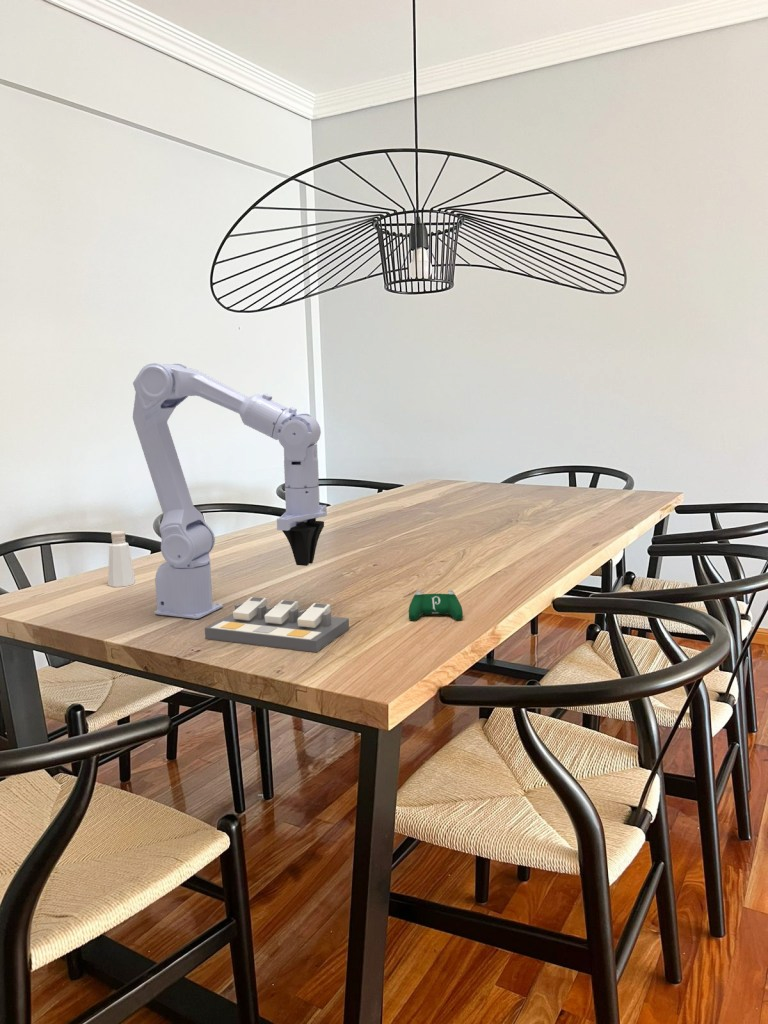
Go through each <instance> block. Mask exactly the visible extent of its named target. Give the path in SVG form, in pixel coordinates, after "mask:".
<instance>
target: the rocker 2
mask: <svg viewBox="0 0 768 1024" xmlns="http://www.w3.org/2000/svg"><path fill="white" fill-rule="evenodd" d="M299 608H300V607H299V601H296V600H287V599H281V600H280V601H279V602H278V603H276V605H275V606H274V608H272V609H271V610H270V611H269V612H268V613H267V614H266V615H265V622H267V623H276V624H282V623H283V622H284V621H285V620H287V619H288V618H289V617H290V615H289V611H290V610H292V609H298V610H299Z"/></svg>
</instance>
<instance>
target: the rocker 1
mask: <svg viewBox="0 0 768 1024" xmlns="http://www.w3.org/2000/svg"><path fill="white" fill-rule="evenodd" d="M242 603H243V604H242V605H241V606H240V607H238V608H237V609H236V610H235V609H234V610H233V611H232V614H233V617H234V619H240V620H251V619H252V618H253V617H254V616H255V615H256V614H257V613H258V611H257V608H258V607H260V606H262V605H265V606H266V607H267V606H268V598H267V597H257V596H251V597H249V598H248V599H247V600H245V601H244V602H242Z"/></svg>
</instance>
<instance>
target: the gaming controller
mask: <svg viewBox="0 0 768 1024" xmlns="http://www.w3.org/2000/svg"><path fill="white" fill-rule="evenodd" d="M422 614H423V615H424V616H429V615H432V614H433V615H434V614H435V615H437V614H438V615H442V616H446V615H450V616H451V618H452V619H453V620H454V621H461V620H463V617H464V616H463V615H464V614H463V608H462V605H461V603H460V601H459V599H458V597H457V596H456V594H455V592H454V590H452V589H449V590H447V593H423V592H422V590H420V589H419V590H417V591H416V592H415V593H414V596H413V597H412V599H411V601H410V604H409V605H408V619H409V620H410V621H412V622H416V621H418V619H420V618H421V615H422Z"/></svg>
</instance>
